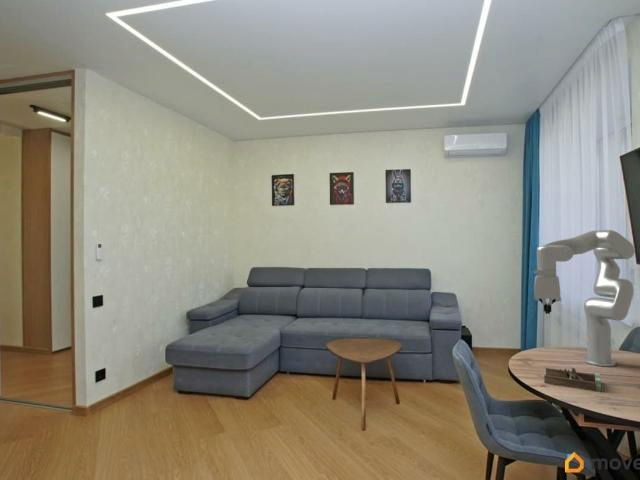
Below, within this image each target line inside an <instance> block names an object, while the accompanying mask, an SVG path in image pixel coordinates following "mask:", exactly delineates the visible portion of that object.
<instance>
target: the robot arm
mask: <svg viewBox="0 0 640 480" xmlns="http://www.w3.org/2000/svg"><path fill="white" fill-rule="evenodd" d="M590 251H593V254H594V256H595V258H596V259H597V262H598V272H597V275H596V277H595V282H594V285H593V292H594V294H595V295H596V296H599V297H589V298H587V299H586V300H585V301H584V303H583V310H584V314H585V318H586V338H587V339H586V340H587V341H586V345H587V346H586V347H587V348H586V349H587V351H586V352H587V356H585V357H584V358H583V361H584V363H587V364H589V365H593V366H597V367H614V366H616V361H615V360H613V359H612V327H611V324H610V322H609V320H612V321H618V322H619V321H623V320H625V319H626V318H627V315H628V313H629V311H630V310H629V309H630V307H631V304H632V300H633V296H634V293H635V291H634V290H635V288H634V284H633V283H632V282H631V281H630V280H628V279H626V278H619V277H620V274H621V270H620V269H621V268H620V266H619V264H618V263H617V262H616V260H629V259H631V258H633V256H634V255H635V253H636V252H635V251H636V250H635V247H634V245H633V243H632V242H631V241H629V240H628V239H627V238H626V237H624V236H623V235H622V234H620V233H619V232H617V231H616V230H611V229H607V230H602V229H601V230H600V229H599V230H591V231H587V232H585V233H582V234H579V235H576V236H574V237H569V238H568V237H567V238H565V239H559V240H555V241H552V242H549V243H546V244H544V245H542V246H538V247H537V248H536V270H535V269H534V270H533V274H536V276H535V277H534V282H533V283H534V285H533V286H534V287H533V292H534V297H533V299H534V300H535V301H539V302H540V303H541V304H542V305H543V312H544V313H545V314H546V315H547V314H549V315H550V314H551V313H552V305H553V304H555V302H561V301H562V298H561V286H560V284H561V283H560V279H559V278H560V277H559V276H558V275H557V262H559V263H560V262H561V263H562V262H563V263H564V262H568V261H570V260H571V259H573V257H574V256H576V255H583V254H586V253H588V252H590ZM609 298H610V299H609ZM546 299H549V300H548V303H547V301H546Z"/></svg>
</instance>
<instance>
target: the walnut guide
mask: <svg viewBox="0 0 640 480" xmlns="http://www.w3.org/2000/svg"><path fill="white" fill-rule="evenodd" d="M561 370H563V371H564V369H561ZM561 370H560V369H558V368H549V367H545V374H543V375H544V376H543V378H544V380H543V381H544V383H545V384H549V385H556V386H563V387H568V388H569V387H570V388H576V389H581V390H588V391H595V392H602V385H601V384H602V383H601V376H600V372H596V371H595V372H594V373H588V372H587V373H586V372H581V371H576V374H577V375H578V376H579V377H581V378H582V379H583V380H584V381H583V380H576V379H570V377H569V378H567V376H566V374H565V373H563V372H562V371H561ZM567 372H568V370H567ZM569 372H572V370H569ZM569 376H570V374H569Z"/></svg>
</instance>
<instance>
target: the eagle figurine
mask: <svg viewBox="0 0 640 480" xmlns="http://www.w3.org/2000/svg"><path fill="white" fill-rule="evenodd" d="M559 370H561V371H562V372H563V373H565V374H566V376H567V378H569V377H570V379H576V380H583V379H582V378H581V377H579V376H578V375H577V374H576V372H577V371H576V368H575V367H571V371H572V372H569V371H570V369H569V368H568V369H567V368H564V369H561V368H559ZM563 370H564V371H563ZM567 371H568V372H567ZM569 374H570V376H569ZM583 381H584V380H583Z"/></svg>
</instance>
